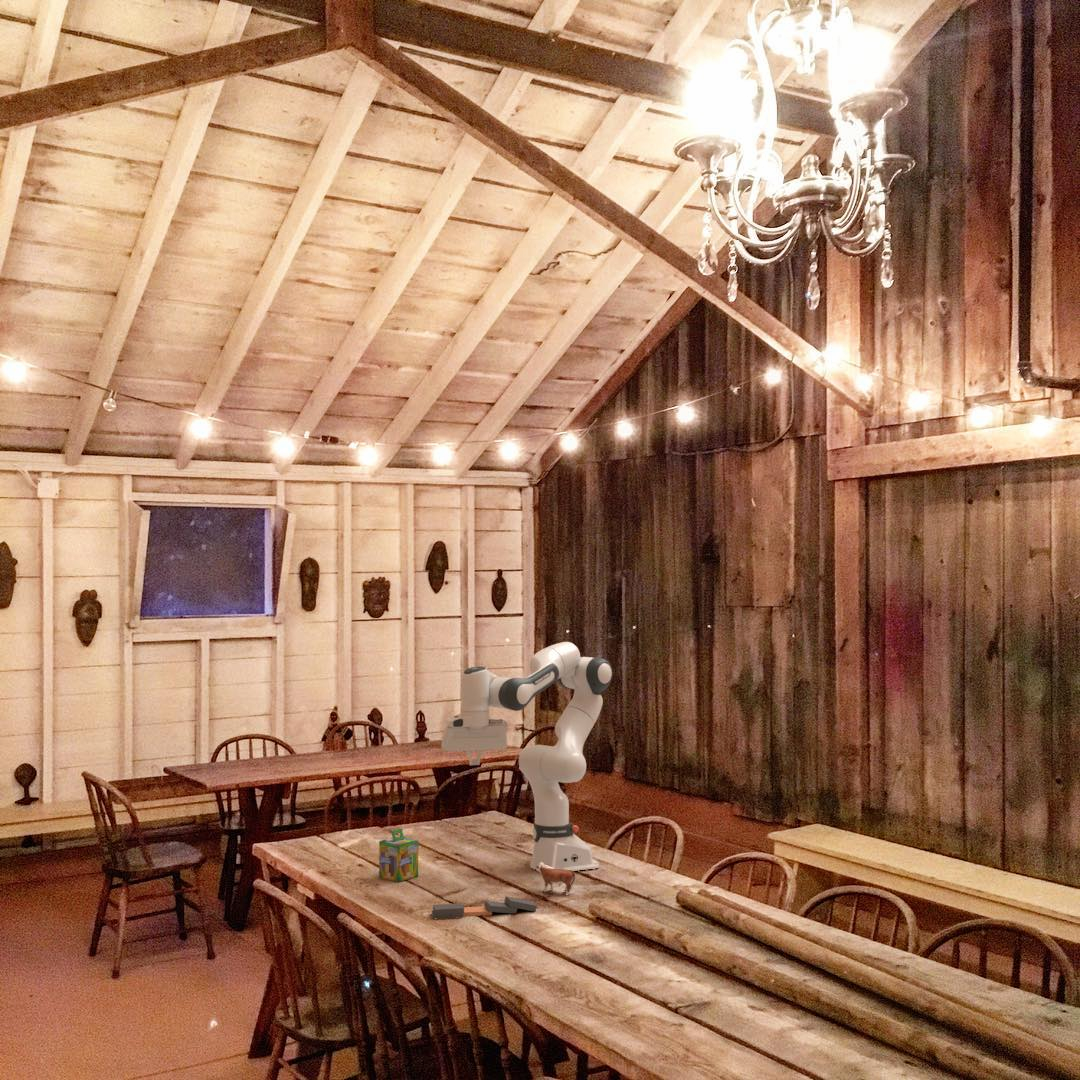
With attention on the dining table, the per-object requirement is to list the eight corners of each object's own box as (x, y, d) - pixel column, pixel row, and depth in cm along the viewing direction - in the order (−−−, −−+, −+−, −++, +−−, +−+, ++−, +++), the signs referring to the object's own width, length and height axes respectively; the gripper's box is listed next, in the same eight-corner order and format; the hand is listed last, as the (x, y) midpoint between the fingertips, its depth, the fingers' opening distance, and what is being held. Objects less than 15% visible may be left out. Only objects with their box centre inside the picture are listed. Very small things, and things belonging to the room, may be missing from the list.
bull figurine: (538, 887, 331) (538, 860, 331) (577, 893, 324) (577, 866, 324) (531, 890, 327) (531, 863, 327) (570, 897, 320) (570, 869, 320)
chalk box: (398, 883, 335) (399, 834, 336) (377, 878, 341) (378, 830, 341) (419, 876, 342) (419, 829, 343) (398, 872, 348) (399, 825, 348)
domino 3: (490, 906, 308) (462, 907, 306) (491, 911, 303) (463, 912, 302) (490, 912, 307) (462, 913, 306) (491, 917, 303) (463, 918, 302)
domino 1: (461, 903, 305) (433, 904, 303) (464, 907, 300) (435, 909, 299) (461, 908, 305) (433, 910, 303) (464, 913, 300) (435, 915, 299)
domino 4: (511, 902, 309) (485, 900, 306) (517, 907, 304) (490, 905, 302) (510, 908, 309) (484, 906, 306) (516, 913, 304) (489, 911, 302)
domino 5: (531, 901, 311) (505, 896, 308) (536, 905, 306) (510, 900, 304) (529, 906, 310) (504, 901, 308) (535, 911, 306) (509, 906, 303)
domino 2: (460, 908, 305) (431, 910, 304) (462, 913, 301) (433, 915, 299) (460, 914, 305) (431, 916, 303) (462, 919, 300) (433, 921, 299)
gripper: (505, 717, 341) (504, 761, 341) (440, 719, 336) (440, 764, 335) (509, 720, 335) (509, 765, 335) (444, 722, 330) (444, 767, 329)
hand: (474, 764), depth 335 cm, fingers closed
